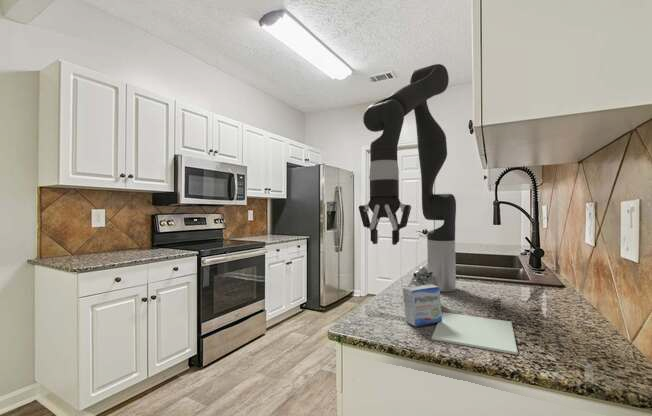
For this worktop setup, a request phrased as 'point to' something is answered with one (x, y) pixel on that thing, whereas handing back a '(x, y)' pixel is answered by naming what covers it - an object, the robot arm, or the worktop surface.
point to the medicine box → (422, 305)
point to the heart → (423, 278)
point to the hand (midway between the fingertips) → (384, 243)
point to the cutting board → (476, 332)
